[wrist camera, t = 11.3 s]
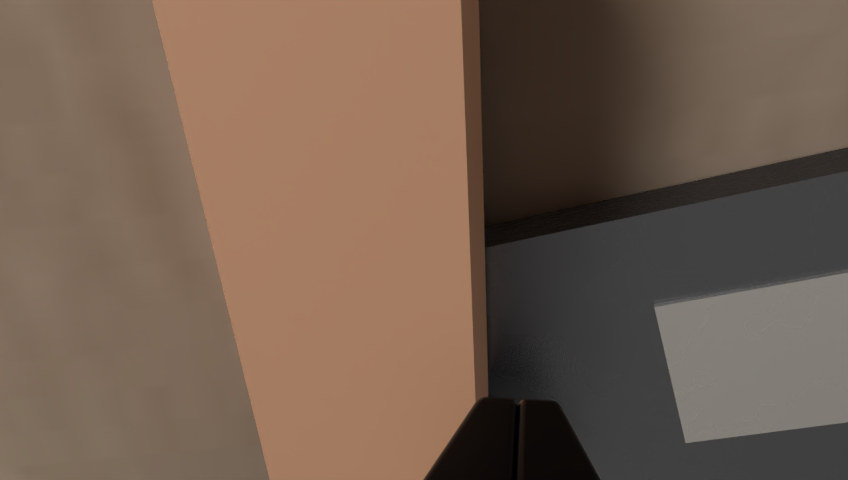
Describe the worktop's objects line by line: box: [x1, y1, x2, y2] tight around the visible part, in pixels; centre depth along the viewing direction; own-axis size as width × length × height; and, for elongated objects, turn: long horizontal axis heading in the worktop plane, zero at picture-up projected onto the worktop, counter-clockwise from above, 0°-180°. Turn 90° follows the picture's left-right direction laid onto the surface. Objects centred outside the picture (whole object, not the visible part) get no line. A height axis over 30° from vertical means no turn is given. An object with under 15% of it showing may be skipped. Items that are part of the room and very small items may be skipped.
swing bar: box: [152, 0, 488, 480], centre depth 18 cm, size 16×5×5 cm, turn 4°
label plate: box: [484, 148, 848, 480], centre depth 20 cm, size 10×13×1 cm
